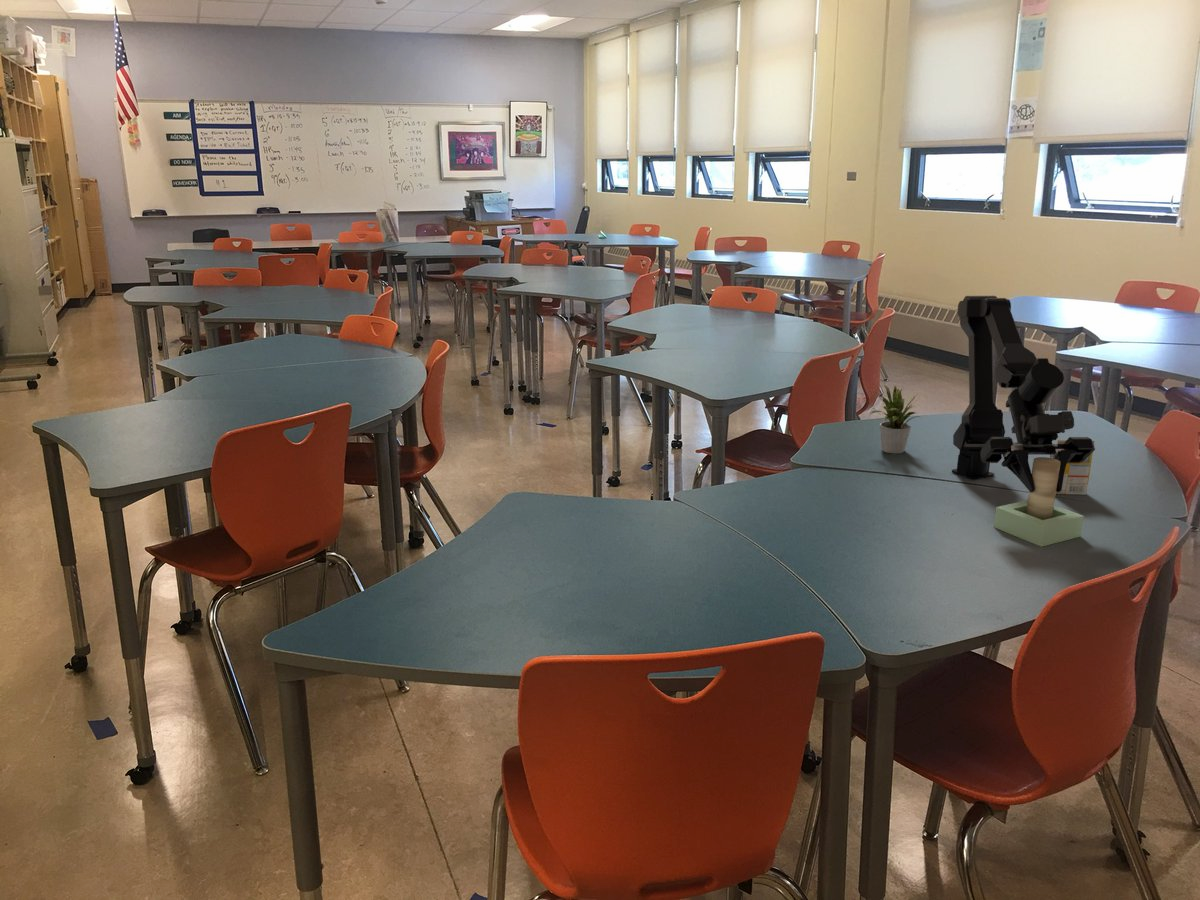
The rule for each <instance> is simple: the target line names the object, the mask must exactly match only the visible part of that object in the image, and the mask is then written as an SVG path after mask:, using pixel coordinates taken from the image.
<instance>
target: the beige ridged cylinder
mask: <svg viewBox="0 0 1200 900" xmlns="http://www.w3.org/2000/svg"><path fill="white" fill-rule="evenodd" d="M1060 463H1061V462H1060V461H1059V460H1056V459H1053V458H1050V457H1046V456H1045V457H1044V456H1041V457H1040V456H1039V457H1034V458H1033V462H1032V466H1031V467H1032V469H1031V474H1032V478H1033V481H1034V487H1035V491H1034V492H1030V491H1029V490H1028V497H1027V500H1028V502H1027V509H1026V514H1028V515H1030V516H1033V517H1035V518H1038V519H1041V520H1045V519H1049V518H1052V515H1053V509H1054V505H1055V502H1056V495H1057V494H1056V489H1057V483H1058V476H1059V469H1060Z"/></svg>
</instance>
